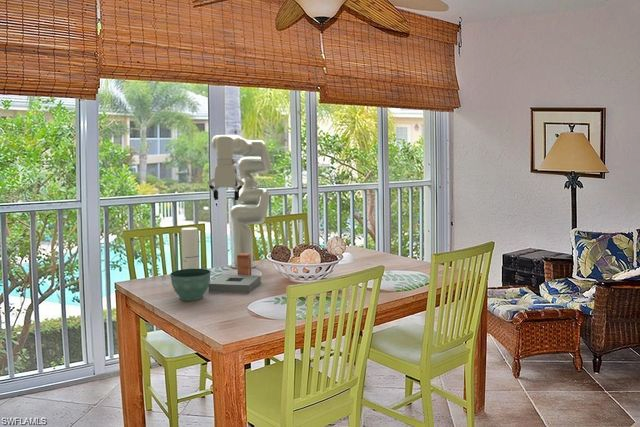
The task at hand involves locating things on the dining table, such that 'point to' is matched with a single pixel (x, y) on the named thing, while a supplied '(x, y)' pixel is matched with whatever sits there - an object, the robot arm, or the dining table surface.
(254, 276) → the socket block
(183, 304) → the dining table surface
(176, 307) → the dining table surface
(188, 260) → the cylindrical container
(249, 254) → the peg
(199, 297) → the green bowl
